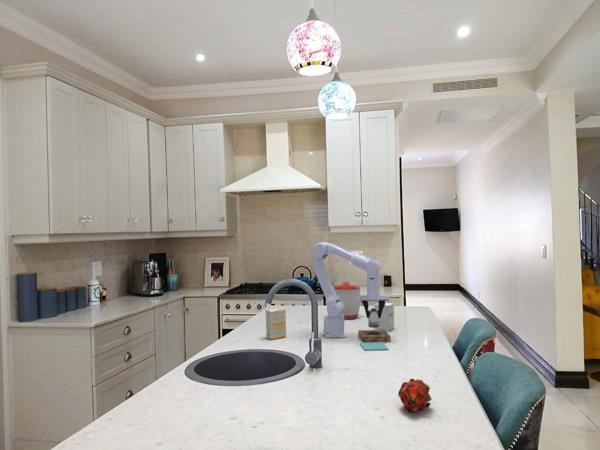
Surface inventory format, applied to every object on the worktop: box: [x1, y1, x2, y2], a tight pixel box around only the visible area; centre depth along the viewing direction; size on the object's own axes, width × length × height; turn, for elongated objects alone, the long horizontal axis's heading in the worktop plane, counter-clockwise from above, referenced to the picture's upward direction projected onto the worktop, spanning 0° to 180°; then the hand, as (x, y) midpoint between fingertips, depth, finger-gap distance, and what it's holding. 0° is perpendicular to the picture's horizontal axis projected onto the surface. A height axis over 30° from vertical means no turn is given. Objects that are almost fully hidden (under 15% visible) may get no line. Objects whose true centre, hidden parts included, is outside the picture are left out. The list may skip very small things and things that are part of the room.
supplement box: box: [265, 307, 287, 341], centre depth 197 cm, size 8×5×13 cm, turn 124°
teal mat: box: [359, 342, 389, 352], centre depth 180 cm, size 10×10×1 cm
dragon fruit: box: [398, 378, 432, 413], centre depth 119 cm, size 8×8×12 cm
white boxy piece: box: [373, 302, 395, 333], centre depth 211 cm, size 7×7×13 cm
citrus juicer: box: [333, 281, 361, 320], centre depth 239 cm, size 16×17×20 cm
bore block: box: [357, 329, 392, 343], centre depth 193 cm, size 12×12×2 cm
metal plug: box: [367, 307, 379, 329], centre depth 193 cm, size 5×5×8 cm
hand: (373, 317), depth 193 cm, fingers closed on metal plug, 5 cm apart
